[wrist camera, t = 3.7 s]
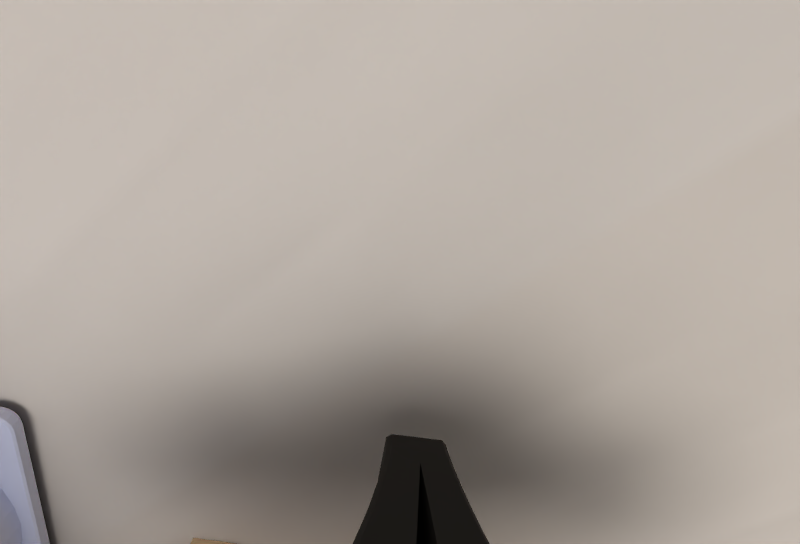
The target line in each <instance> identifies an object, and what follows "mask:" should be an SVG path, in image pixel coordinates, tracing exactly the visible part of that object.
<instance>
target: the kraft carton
mask: <svg viewBox="0 0 800 544" xmlns="http://www.w3.org/2000/svg"><path fill="white" fill-rule="evenodd" d="M191 544H235V543H228V542H220V541H213V540H206V539H198V538H193V539H192V542H191Z"/></svg>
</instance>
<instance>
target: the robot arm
mask: <svg viewBox="0 0 800 544" xmlns="http://www.w3.org/2000/svg"><path fill="white" fill-rule="evenodd" d="M0 544H50V542H49V538H48V533H47V529H46V525H45V520H44V516H43V511H42V507H41V502H40V498H39V494H38V489H37V485H36V480H35V476H34V472H33V467H32V463H31V458H30V454H29V449H28V445H27V441H26V436H25V432H24V427H23V423H22V421H21V419H20V417H19V416H18V415H17V414H16V413H15V412H14V411H12V410H10V409H8V408H5V407H1V406H0ZM353 544H489V542H488V540H487V538H486V536H485V534H484V532H483V531H482V529H481V527H480V525H479V523H478V520H477V518H476V516H475V514H474V512H473V510H472V508H471V506H470V504H469V502H468V500H467V498H466V495H465V493H464V491H463V489H462V486H461V484H460V482H459V479H458V477H457V474H456V472H455V469H454V467H453V464H452V462H451V459H450V456H449V454H448V451H447V448H446V445H445V444H444V442H443V441H442V440H434V439H426V438H418V437H409V436H401V435H393V434H392V435H390V436H388V437H386V442H385V447H384V452H383V457H382V462H381V468H380V473H379V478H378V483H377V485H376V488H375V491H374V494H373V497H372V499H371V502H370V505H369V508H368V510H367V513H366V515H365V517H364V520H363V522H362V524H361V526H360V529H359V531H358V533H357V536H356V538H355V540H354V542H353Z"/></svg>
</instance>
